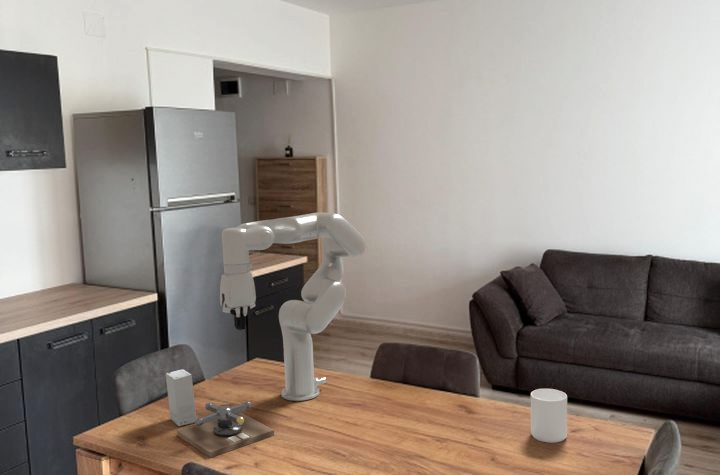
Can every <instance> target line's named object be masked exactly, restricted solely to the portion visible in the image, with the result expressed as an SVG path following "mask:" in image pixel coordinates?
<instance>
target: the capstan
mask: <svg viewBox="0 0 720 475" xmlns="http://www.w3.org/2000/svg"><path fill="white" fill-rule="evenodd" d="M204 408H205V410H206V411H209V412H211V414H208V415H205V416H202V417H198V418H197V417H196V421H195V423H194V425H195V424H196V425H197V426H201V425H202V424H205V423H208V422H211V421H214V420H217V422H218V424H217V425H215V426H214V428H213V430H214V434H215V435H217V436H221V437H228V436H233V435H236V434H239V433H240V432H241V431H242V424H243V423H244V418H243V417H240V416H238V415H236V414H234V413H237V412H241V411H245V410H249V409H251V408H252V403H251V402H250V401H249V400H248V401H245V402H243V403H240V404H238V405H234V406H230V405H220V406H217V405H215V404H213V403H212V402H207V403H206V404H205V406H204Z"/></svg>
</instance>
